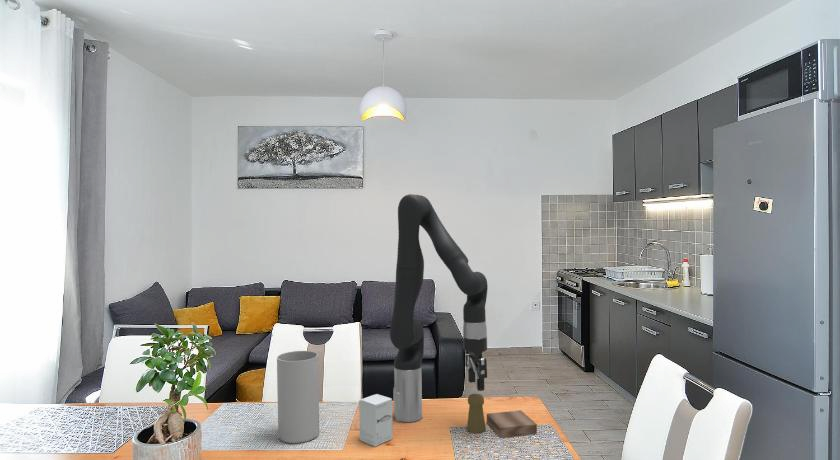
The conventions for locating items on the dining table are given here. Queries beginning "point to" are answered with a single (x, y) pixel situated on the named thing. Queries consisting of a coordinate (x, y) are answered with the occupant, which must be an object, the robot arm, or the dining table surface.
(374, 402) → the supplement box
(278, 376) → the cylinder vase
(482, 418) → the olive knob-ended peg
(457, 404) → the dining table surface
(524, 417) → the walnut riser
